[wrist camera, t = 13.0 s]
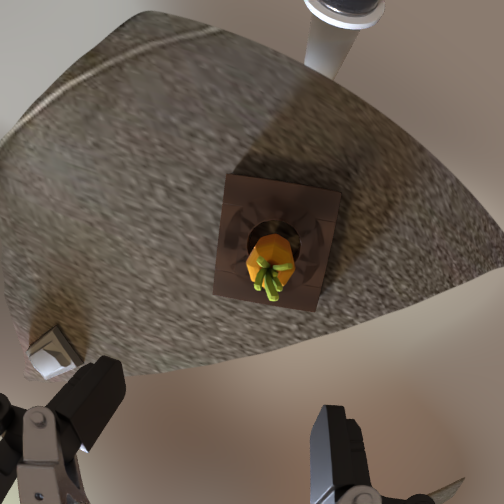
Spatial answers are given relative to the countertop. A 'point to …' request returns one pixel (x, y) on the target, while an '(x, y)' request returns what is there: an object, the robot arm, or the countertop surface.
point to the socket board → (282, 209)
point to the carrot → (271, 264)
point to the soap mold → (53, 354)
